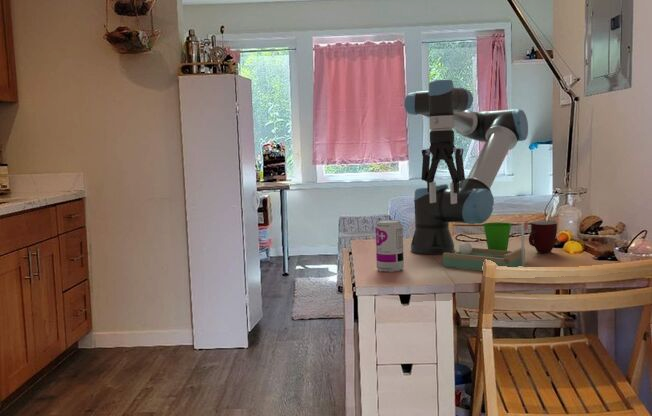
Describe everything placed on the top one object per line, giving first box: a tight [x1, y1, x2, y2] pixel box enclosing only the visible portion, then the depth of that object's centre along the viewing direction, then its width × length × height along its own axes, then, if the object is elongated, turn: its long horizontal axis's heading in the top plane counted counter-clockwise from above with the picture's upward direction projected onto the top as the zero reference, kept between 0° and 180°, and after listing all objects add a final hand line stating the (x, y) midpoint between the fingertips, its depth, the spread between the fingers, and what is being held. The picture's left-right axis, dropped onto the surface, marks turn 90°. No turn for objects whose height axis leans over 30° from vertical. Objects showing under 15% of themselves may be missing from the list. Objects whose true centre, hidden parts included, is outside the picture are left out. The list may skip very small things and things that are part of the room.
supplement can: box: [375, 219, 405, 273], centre depth 181 cm, size 8×8×15 cm
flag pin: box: [520, 221, 528, 267], centre depth 174 cm, size 2×4×14 cm, turn 139°
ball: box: [458, 241, 473, 255], centre depth 184 cm, size 4×4×4 cm
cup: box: [482, 221, 512, 251], centre depth 192 cm, size 9×9×11 cm
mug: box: [528, 220, 558, 255], centre depth 196 cm, size 10×8×10 cm
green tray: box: [442, 247, 526, 272], centre depth 180 cm, size 21×12×5 cm, turn 49°
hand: (443, 202), depth 187 cm, fingers open, 7 cm apart
